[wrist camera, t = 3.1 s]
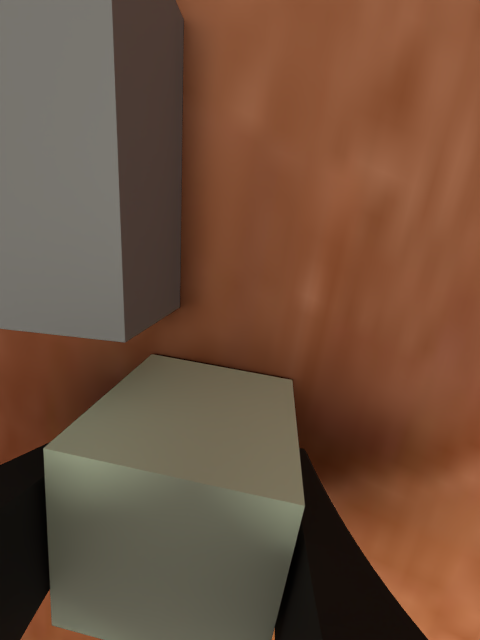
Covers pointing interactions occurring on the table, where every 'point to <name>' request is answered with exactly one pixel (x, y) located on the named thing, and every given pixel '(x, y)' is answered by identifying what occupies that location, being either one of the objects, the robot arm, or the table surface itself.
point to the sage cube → (175, 506)
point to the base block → (90, 165)
